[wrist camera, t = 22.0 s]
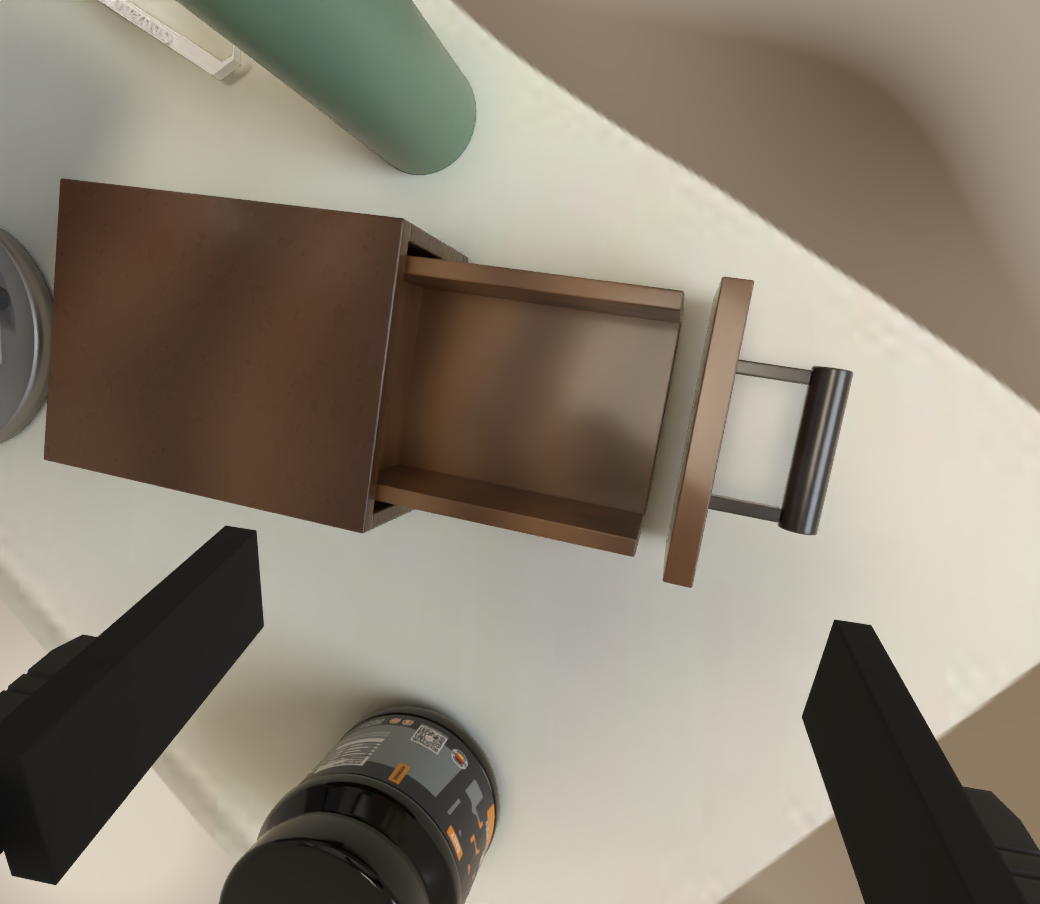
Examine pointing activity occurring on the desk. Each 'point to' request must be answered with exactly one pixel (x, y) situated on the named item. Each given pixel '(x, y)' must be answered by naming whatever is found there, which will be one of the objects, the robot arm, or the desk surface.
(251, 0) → the bottle
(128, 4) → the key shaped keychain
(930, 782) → the robot arm
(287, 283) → the cabinet
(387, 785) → the supplement container
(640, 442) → the drawer
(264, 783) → the desk surface
